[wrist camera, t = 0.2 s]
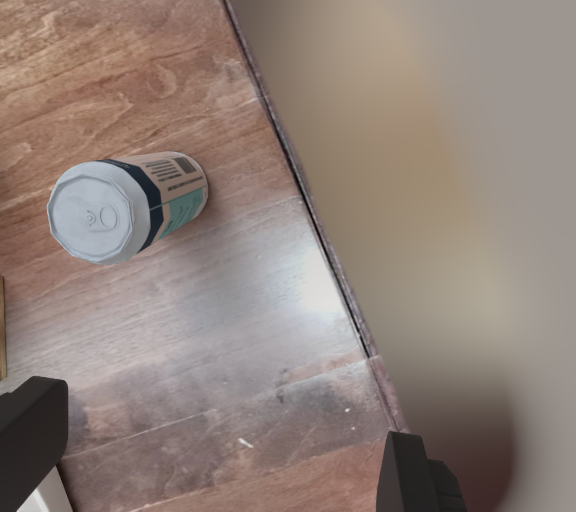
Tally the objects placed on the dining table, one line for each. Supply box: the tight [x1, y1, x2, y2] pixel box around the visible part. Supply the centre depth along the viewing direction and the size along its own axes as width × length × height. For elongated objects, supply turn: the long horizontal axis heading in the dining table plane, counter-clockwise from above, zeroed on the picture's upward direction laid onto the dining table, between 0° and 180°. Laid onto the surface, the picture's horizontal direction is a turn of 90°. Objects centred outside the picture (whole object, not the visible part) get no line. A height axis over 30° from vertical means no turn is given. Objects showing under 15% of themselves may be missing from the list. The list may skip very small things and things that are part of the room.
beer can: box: [46, 151, 208, 265], centre depth 28 cm, size 5×5×12 cm
